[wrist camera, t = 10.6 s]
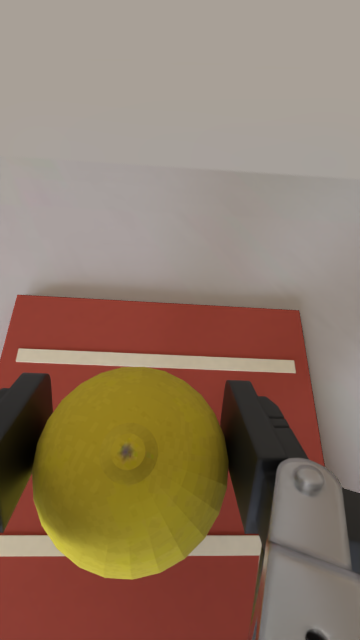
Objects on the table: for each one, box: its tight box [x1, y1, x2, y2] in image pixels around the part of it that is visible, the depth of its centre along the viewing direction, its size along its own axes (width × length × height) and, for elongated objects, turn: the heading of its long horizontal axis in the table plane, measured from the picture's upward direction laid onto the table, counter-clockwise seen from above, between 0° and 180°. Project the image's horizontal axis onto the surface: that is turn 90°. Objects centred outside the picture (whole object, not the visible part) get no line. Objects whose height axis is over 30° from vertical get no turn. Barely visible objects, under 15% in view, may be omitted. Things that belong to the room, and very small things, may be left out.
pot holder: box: [0, 295, 325, 640], centre depth 16 cm, size 16×15×1 cm
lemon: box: [32, 367, 229, 580], centre depth 10 cm, size 6×6×8 cm
